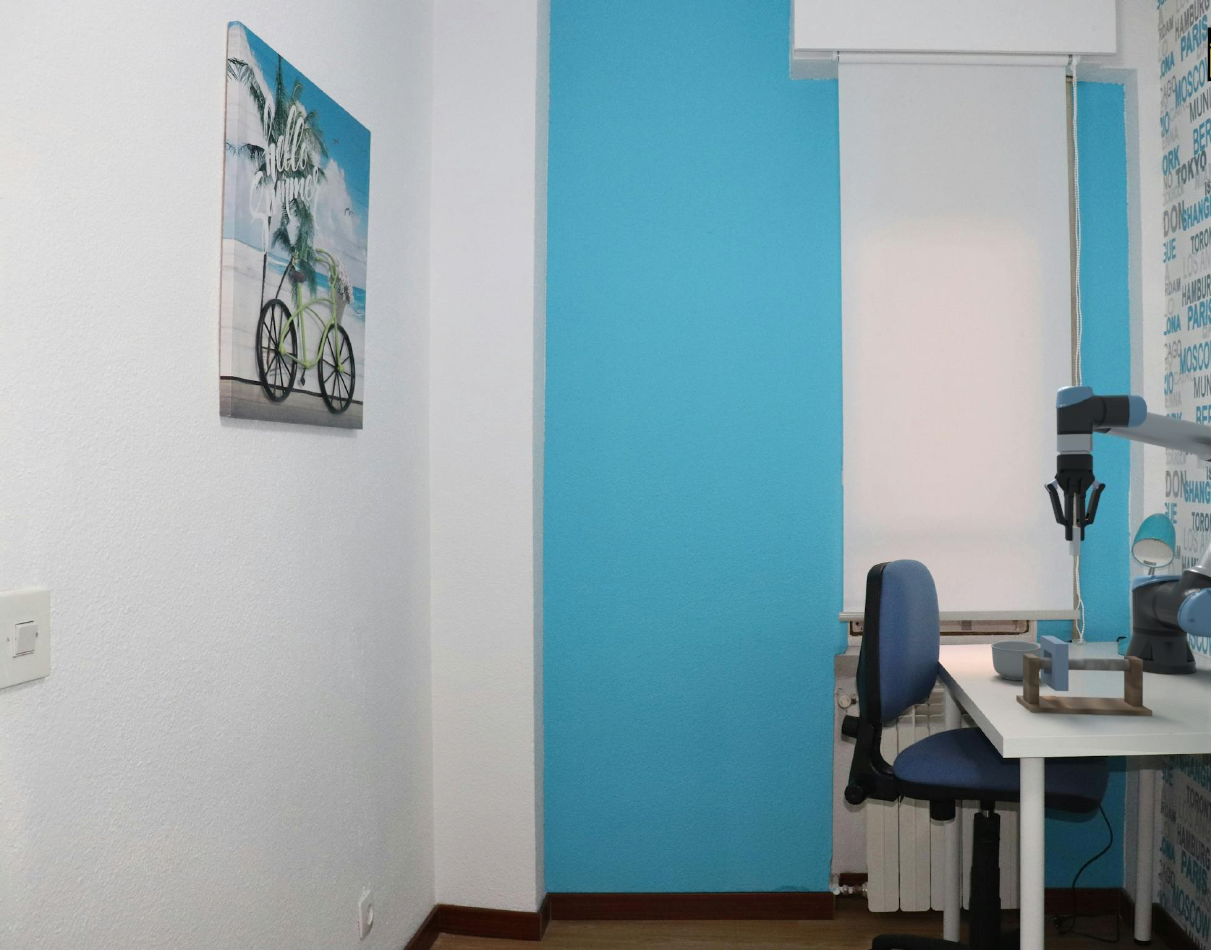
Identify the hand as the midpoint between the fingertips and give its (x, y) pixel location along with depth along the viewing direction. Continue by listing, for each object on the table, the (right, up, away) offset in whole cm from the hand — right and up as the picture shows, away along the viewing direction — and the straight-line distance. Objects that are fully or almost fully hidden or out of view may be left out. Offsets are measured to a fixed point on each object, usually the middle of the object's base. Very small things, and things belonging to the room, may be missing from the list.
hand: (1074, 555), depth 215 cm
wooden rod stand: (-10, -30, -23) cm, 39 cm away
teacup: (-11, -30, +6) cm, 32 cm away
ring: (-15, -25, -22) cm, 37 cm away
